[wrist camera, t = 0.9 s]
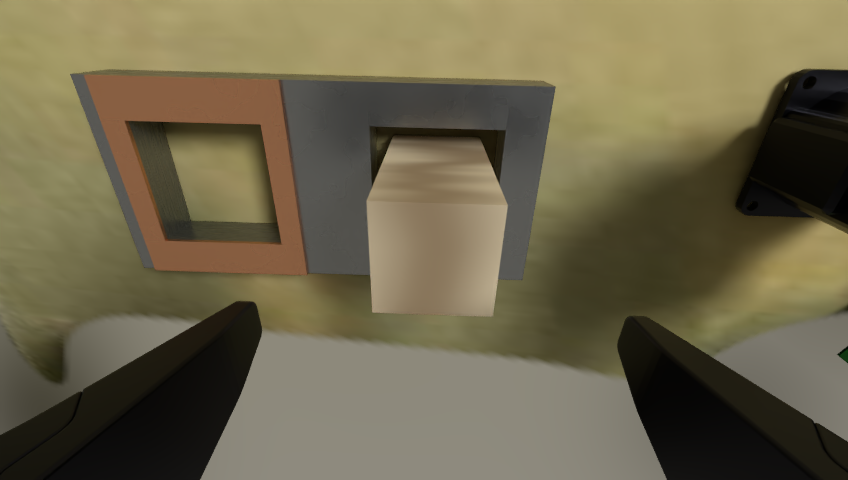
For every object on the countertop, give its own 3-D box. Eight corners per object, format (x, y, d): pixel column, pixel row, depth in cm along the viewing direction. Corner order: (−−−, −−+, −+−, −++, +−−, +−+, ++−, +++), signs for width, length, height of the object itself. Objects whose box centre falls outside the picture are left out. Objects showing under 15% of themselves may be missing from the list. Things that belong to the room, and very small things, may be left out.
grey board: (542, 81, 17) (556, 87, 15) (514, 259, 21) (523, 282, 19) (108, 69, 17) (65, 74, 15) (168, 248, 21) (141, 269, 19)
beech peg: (479, 137, 18) (507, 205, 11) (472, 215, 20) (492, 316, 13) (393, 134, 18) (366, 200, 11) (394, 213, 20) (372, 312, 13)
